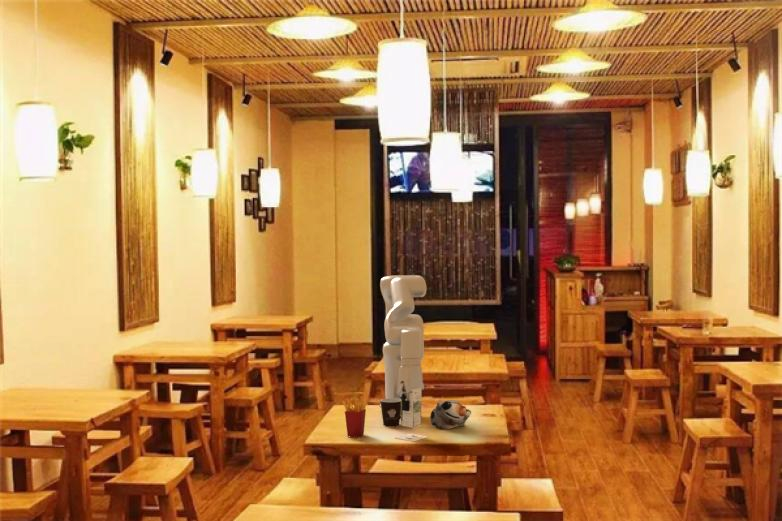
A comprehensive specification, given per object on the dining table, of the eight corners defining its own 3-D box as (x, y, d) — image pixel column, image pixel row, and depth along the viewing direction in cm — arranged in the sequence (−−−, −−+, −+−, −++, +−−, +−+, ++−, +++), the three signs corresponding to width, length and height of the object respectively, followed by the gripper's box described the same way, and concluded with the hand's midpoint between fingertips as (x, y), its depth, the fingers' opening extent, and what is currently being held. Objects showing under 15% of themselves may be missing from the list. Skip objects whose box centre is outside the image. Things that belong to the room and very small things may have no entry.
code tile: (394, 438, 338) (394, 437, 338) (409, 433, 345) (409, 433, 345) (413, 441, 332) (413, 441, 332) (428, 437, 339) (428, 436, 339)
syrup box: (409, 422, 343) (408, 385, 342) (421, 424, 340) (421, 387, 339) (400, 425, 339) (400, 387, 338) (413, 427, 335) (413, 389, 334)
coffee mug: (377, 426, 359) (377, 401, 358) (385, 422, 367) (384, 397, 366) (404, 428, 355) (404, 403, 354) (411, 423, 363) (411, 399, 362)
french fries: (361, 438, 338) (360, 398, 338) (340, 437, 341) (340, 397, 340) (368, 433, 347) (367, 394, 346) (348, 432, 349) (347, 393, 349)
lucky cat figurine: (466, 423, 363) (475, 395, 356) (462, 441, 352) (471, 413, 346) (431, 412, 364) (439, 384, 358) (426, 429, 353) (434, 401, 347)
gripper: (417, 357, 347) (417, 403, 348) (388, 363, 334) (388, 411, 335) (432, 359, 342) (432, 406, 343) (404, 366, 329) (404, 414, 330)
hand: (411, 408), depth 339 cm, fingers closed on syrup box, 5 cm apart
